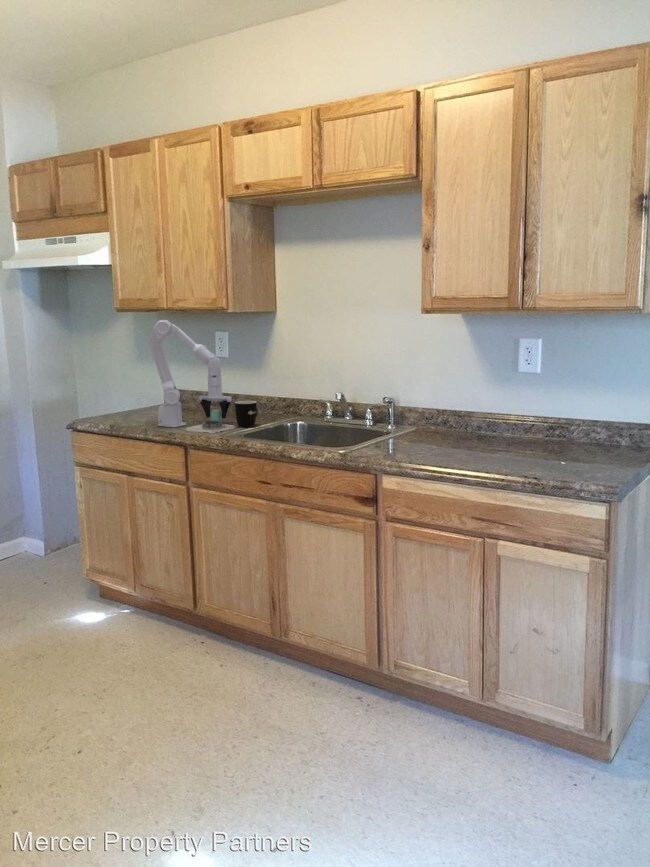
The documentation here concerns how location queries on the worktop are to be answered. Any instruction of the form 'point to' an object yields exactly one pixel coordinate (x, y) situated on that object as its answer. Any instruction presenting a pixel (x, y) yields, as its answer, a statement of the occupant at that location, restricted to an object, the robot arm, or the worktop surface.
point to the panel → (210, 427)
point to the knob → (215, 415)
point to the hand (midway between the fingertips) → (216, 417)
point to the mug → (246, 413)
